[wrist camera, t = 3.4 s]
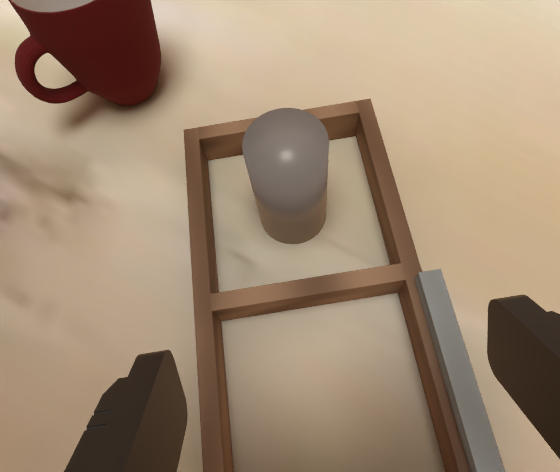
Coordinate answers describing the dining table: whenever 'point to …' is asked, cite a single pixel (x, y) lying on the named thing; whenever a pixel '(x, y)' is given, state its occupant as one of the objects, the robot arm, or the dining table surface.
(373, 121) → the divider rack
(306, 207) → the grey dome-topped cylinder
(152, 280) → the dining table surface
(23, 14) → the mug
